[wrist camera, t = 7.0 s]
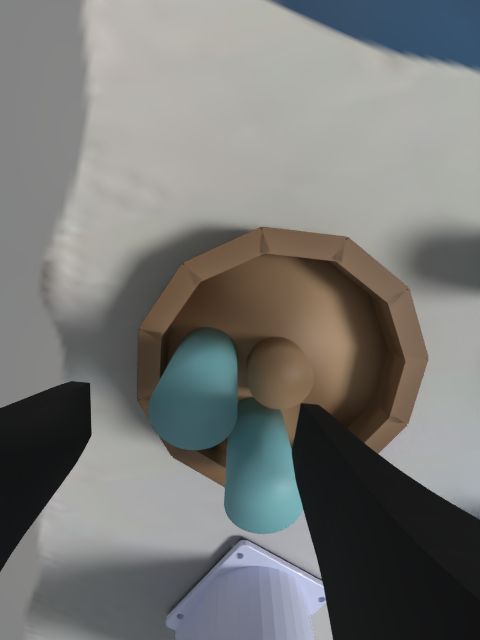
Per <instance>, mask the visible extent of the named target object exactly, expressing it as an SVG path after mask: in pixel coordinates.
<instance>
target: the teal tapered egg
mask: <svg viewBox="0 0 480 640" xmlns="http://www.w3.org/2000/svg"><path fill="white" fill-rule="evenodd" d="M148 414H149V419H150V422H151V424H152V426H153V428H154V430H155V431H156V433H157V434H158V435H159V436H160V437H161V438H162V439H163V440H165V441H166V442H168V443H169V444H171V445H173V446H176V447H178V448H182V449H186V450H203V449H207V448H211V447H213V446H215V445H217V444H219V443H221V442H222V441H223V440H225V439H226V438H227V437H228V436H229V435H230V433H231V432H232V430H233V428H234V426H235V424H236V420H237V349H236V346H235V344H234V342H233V340H232V339H231V338H230V337H229V335H227V334H226V333H225V332H223V331H221V330H219V329H216V328H212V327H201V328H197V329H195V330H192V331H191V332H189V333H188V334H187V335H186V336H185V337H184V338H183V339H182V341H181V343H180V344H179V346H178V348H177V350H176V352H175V353H174V355H173V357H172V359H171V361H170V362H169V364H168V366H167V368H166V370H165V372H164V373H163V375H162V377H161V379H160V381H159V382H158V384H157V386H156V388H155V390H154V391H153V393H152V395H151V398H150V401H149V406H148Z"/></svg>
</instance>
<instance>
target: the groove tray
mask: <svg viewBox="0 0 480 640" xmlns="http://www.w3.org/2000/svg"><path fill="white" fill-rule="evenodd" d="M201 327H212V328H216V329H219V330H221V331H223V332H225V333H226V334H227V335H229V337H230V338H231V339H232V340H233V342H234V344H235V346H236V349H237V404H238V403H239V402H241V401H242V400H244V399H247V398H252V397H254V398H255V399H256V400H257V401H258V402H259V403H260V404H262V405H264V406H266V407H268V408H272V409H280V410H281V412H282V415H283V419H284V423H285V426H286V430H287V434H288V438H289V442H290V445H291V449H292V448H293V442H294V437H295V432H296V426H297V421H298V416H299V410H300V405H301V403H307V404H317V405H320V406H321V407H322V408H324V409H325V410H326V411H327V412H328V413H330V414H331V415H332V416H333V417H334V418H335V419H337V420H338V421H339V422H340V423H341V424H342V425H343V426H345V427H346V428H347V429H348V430H349V431H350V432H352V433H353V434H354V435H355V436H356V437H358V438H359V439H360V440H361V441H362V442H364V443H365V444H366V445H367V446H369V447H370V448H371V449H372V450H374V451H375V452H376V453H379V452H380V451H381V450H382V449H383V448H385V447H386V446H387V445H388V444H389V443H390V442H391V441H392V440H393V439H394V438H395V437H396V436H397V435H398V434H399V433H400V432H401V431H402V430H403V429H404V428H405V427H406V426H407V424H408V423H409V420H410V417H411V413H412V410H413V407H414V404H415V401H416V397H417V394H418V391H419V388H420V384H421V381H422V378H423V375H424V372H425V368H426V365H427V362H428V354H427V350H426V347H425V343H424V339H423V336H422V332H421V329H420V325H419V321H418V318H417V314H416V311H415V307H414V303H413V300H412V296H411V293H410V289H408V287H407V286H406V285H405V284H404V283H403V282H401V281H400V280H399V279H398V278H397V277H395V276H394V275H393V274H392V273H391V272H389V271H388V270H387V269H386V268H385V267H383V266H382V265H381V264H380V263H379V262H377V261H376V260H375V259H374V258H373V257H371V256H370V255H369V254H368V253H367V252H365V251H364V250H363V249H362V248H361V247H359V246H358V245H357V244H356V243H355V242H353V241H352V240H351V239H350V238H349V237H348V238H347V237H345V236H336V235H328V234H319V233H311V232H302V231H294V230H285V229H277V228H268V227H260V228H258V229H255V230H253V231H251V232H249V233H247V234H244V235H242V236H240V237H238V238H236V239H233V240H231V241H229V242H227V243H225V244H222V245H220V246H218V247H216V248H214V249H212V250H209V251H207V252H205V253H203V254H201V255H198V256H196V257H194V258H192V259H190V260H187V261H185V262H183V263H182V264H181V266H180V267H179V269H178V270H177V272H176V273H175V275H174V276H173V278H172V279H171V281H170V282H169V284H168V285H167V287H166V288H165V290H164V291H163V293H162V294H161V295H160V297H159V298H158V300H157V301H156V303H155V304H154V306H153V307H152V309H151V310H150V312H149V313H148V315H147V316H146V318H145V319H144V321H143V322H142V324H141V325H140V327H139V329H138V374H137V399H138V402H139V404H140V405H141V407H142V409H143V410H144V412H145V414H146V415H147V417H148V419H149V414H148V406H149V401H150V398H151V395H152V393H153V391H154V390H155V388H156V386H157V384H158V382H159V381H160V379H161V377H162V375H163V373H164V372H165V370H166V368H167V366H168V364H169V362H170V361H171V359H172V357H173V355H174V353H175V352H176V350H177V348H178V346H179V344H180V343H181V341H182V339H183V338H184V337H185V336H186V335H187V334H188V333H189V332H191V331H192V330H195V329H197V328H201ZM149 420H150V419H149ZM159 437H160V436H159ZM160 438H161V437H160ZM161 440H162V442H163V443H164V445H165V447H166V448H167V450H168V451H169V453H170V455H171V456H173V458H175V459H177V460H178V461H180V462H182V463H184V464H185V465H187V466H189V467H190V468H192V469H194V470H196V471H197V472H199V473H201V474H203V475H204V476H206V477H208V478H210V479H211V480H213V481H215V482H216V483H218V484H220V485H222V486H223V487H225V478H226V457H227V438H226V439H225V440H223V441H222V442H221V443H219V444H217V445H215V446H213V447H211V448H207V449H203V450H186V449H182V448H178V447H176V446H173V445H171V444H169V443H168V442H166V441H165V440H163V439H162V438H161Z"/></svg>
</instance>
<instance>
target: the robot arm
mask: <svg viewBox="0 0 480 640" xmlns="http://www.w3.org/2000/svg"><path fill="white" fill-rule="evenodd" d="M90 437H91V401H90V383H84V382H73V381H71V382H68V383H64V384H61V385H58V386H56V387H53V388H50V389H48V390H46V391H43V392H40V393H38V394H35V395H33V396H30V397H28V398H25V399H23V400H20V401H18V402H15V403H12V404H10V405H7V406H5V407H2V408H0V571H1V570H2V568H3V566H4V565H5V563H6V562H7V560H8V558H9V557H10V555H11V554H12V552H13V551H14V549H15V548H16V546H17V545H18V543H19V542H20V540H21V539H22V537H23V536H24V534H25V533H26V532H27V530H28V529H29V528H30V526H31V525H32V523H33V522H34V521H35V519H36V518H37V517H38V515H39V514H40V513H41V511H42V510H43V508H44V507H45V506H46V504H47V503H48V502H49V500H50V499H51V498H52V496H53V495H54V493H55V492H56V491H57V489H58V488H59V487H60V485H61V484H62V482H63V481H64V480H65V478H66V477H67V476H68V474H69V473H70V471H71V470H72V469H73V467H74V466H75V464H76V463H77V461H78V459H79V457H80V456H81V454H82V452H83V450H84V449H85V447H86V445H87V443H88V441H89V439H90ZM292 460H293V467H294V473H295V479H296V484H297V488H298V492H299V495H300V499H301V503H302V506H303V510H304V513H305V517H306V520H307V524H308V528H309V531H310V535H311V538H312V542H313V545H314V549H315V552H316V556H317V560H318V564H319V568H320V572H321V577H322V581H321V580H319V579H317V578H315V577H313V576H312V575H310V574H308V573H306V572H304V571H303V570H301V569H299V568H297V567H295V566H293V565H292V564H290V563H288V562H286V561H284V560H282V559H281V558H279V557H277V556H275V555H273V554H271V553H270V552H268V551H266V550H264V549H262V548H260V547H259V546H257V545H255V544H253V543H251V542H250V541H247V540H241V541H239V542H238V543H237V544H236V545H235V546H234V547H233V548H232V549H231V550H230V551H229V552H228V553H227V554H226V555H225V556H224V557H223V558H222V559H221V560H220V561H219V562H218V563H217V565H216V566H215V567H214V568H213V569H212V570H211V571H210V572H209V573H208V574H207V575H206V576H205V577H204V578H203V579H202V580H201V581H200V582H199V583H198V584H197V585H196V586H195V587H194V588H193V589H192V590H191V591H190V593H189V594H188V595H187V596H186V597H185V598H184V599H183V600H182V601H181V602H180V603H179V604H178V605H177V606H176V607H175V608H174V609H173V610H172V611H171V612H170V613H169V614H168V615H167V617H166V626H167V627H168V628H170V629H173V630H175V631H176V634H175V640H315V638H314V633H313V627H312V622H311V617H310V616H311V615H312V614H314V613H315V612H316V611H317V610H318V609H319V608H321V607H322V606H323V605H324V604H325V603H327V608H328V613H329V619H330V624H331V630H332V635H333V640H480V520H479V519H477V518H476V517H474V516H472V515H471V514H469V513H467V512H465V511H464V510H462V509H460V508H458V507H457V506H455V505H453V504H452V503H450V502H448V501H446V500H445V499H443V498H442V497H440V496H438V495H437V494H435V493H433V492H432V491H430V490H429V489H427V488H426V487H424V486H423V485H421V484H420V483H418V482H417V481H415V480H414V479H412V478H411V477H409V476H408V475H406V474H405V473H403V472H402V471H400V470H399V469H398V468H396V467H395V466H393V465H392V464H391V463H389V462H388V461H387V460H385V459H384V458H383V457H381V456H380V455H379V454H378V453H376V452H375V451H374V450H372V449H371V448H370V447H369V446H367V445H366V444H365V443H364V442H362V441H361V440H360V439H359V438H358V437H356V436H355V435H354V434H353V433H352V432H350V431H349V430H348V429H347V428H346V427H345V426H343V425H342V424H341V423H340V422H339V421H338V420H337V419H335V418H334V417H333V416H332V415H331V414H330V413H328V412H327V411H326V410H325V409H324V408H322V407H321V406H320V405H317V404H307V403H301V405H300V410H299V416H298V421H297V426H296V432H295V437H294V442H293V448H292Z"/></svg>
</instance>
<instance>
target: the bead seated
mask: <svg viewBox="0 0 480 640" xmlns="http://www.w3.org/2000/svg"><path fill="white" fill-rule="evenodd" d="M224 506H225V511H226V514H227V516H228V517H229V519H230V520H231V521H232V522H233V523H234V524H235V525H236V526H238V527H239V528H241V529H243V530H245V531H248V532H252V533H258V534H268V533H274V532H278V531H281V530H283V529H285V528H287V527H289V526H290V525H292V524H293V523H294V522H295V521H296V520H297V519H298V517H299V516H300V514H301V512H302V510H303V506H302V503H301V499H300V495H299V492H298V488H297V484H296V479H295V473H294V467H293V460H292V449H291V445H290V442H289V438H288V434H287V430H286V426H285V423H284V419H283V415H282V412H281V410H280V409H272V408H268V407H266V406H264V405H262V404H260V403H259V402H258V401H257V400H256V399H255V398H254V397H252V398H247V399H244V400H242V401H241V402H239V403H238V404H237V420H236V424H235V426H234V428H233V430H232V432H231V433H230V435H229V436H228V437H227V457H226V478H225V499H224Z"/></svg>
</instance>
